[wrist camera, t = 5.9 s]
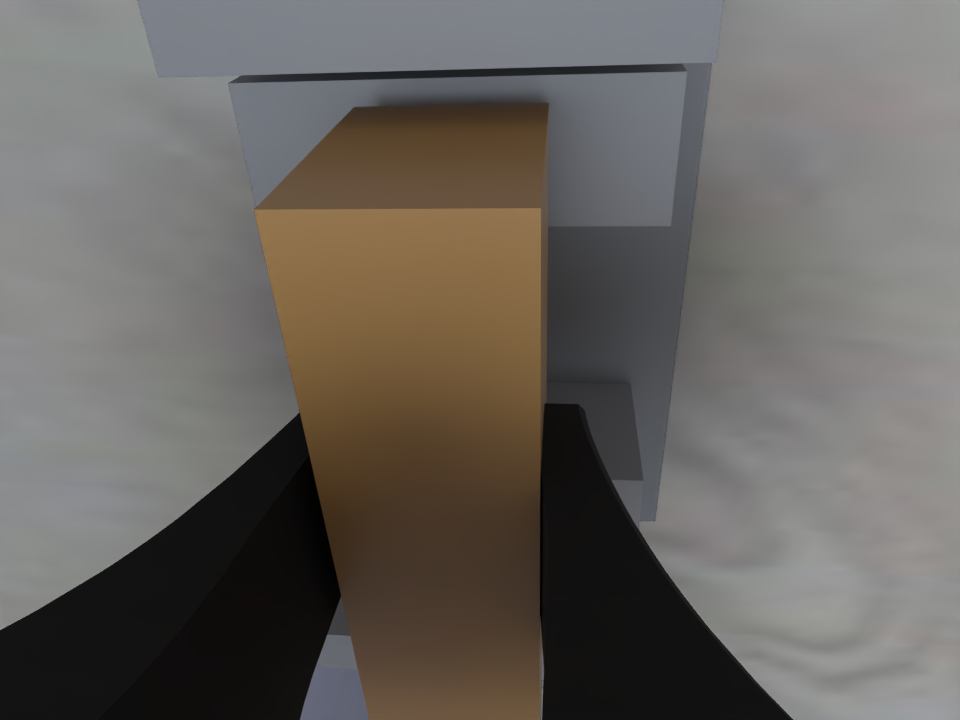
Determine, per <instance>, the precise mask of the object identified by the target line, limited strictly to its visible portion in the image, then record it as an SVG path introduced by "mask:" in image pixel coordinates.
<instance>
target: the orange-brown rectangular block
mask: <svg viewBox="0 0 960 720" xmlns="http://www.w3.org/2000/svg"><path fill="white" fill-rule="evenodd" d="M548 162H549V103H515V104H466V105H418V106H369V107H353V109H352V110H351V111H350V112H349V113H348V114H347V115H346V116H345V117H344V118H343V119H342V120H341V121H340V122H339V123H338V124H337V125H336V126H335V127H334V128H333V129H332V130H331V131H330V132H329V133H328V134H327V135H326V136H325V137H324V138H323V139H322V140H321V141H320V142H319V143H318V144H317V145H316V147H315V148H314V149H313V150H312V151H311V152H310V153H309V154H308V155H307V156H306V157H305V158H304V159H303V160H302V161H301V162H300V163H299V164H298V165H297V166H296V167H295V168H294V169H293V170H292V171H291V172H290V173H289V174H288V175H287V176H286V177H285V178H284V179H283V180H282V181H281V182H280V183H279V185H278V186H277V187H276V188H275V189H274V190H273V191H272V192H271V193H270V194H269V195H268V196H267V197H266V198H265V199H264V200H263V201H262V202H261V203H260V204H259V205H258V206H257V207H256V208H255V209H254V212H255V216H256V221H257V225H258V229H259V234H260V238H261V243H262V247H263V252H264V256H265V260H266V265H267V269H268V274H269V278H270V283H271V287H272V291H273V296H274V300H275V305H276V309H277V314H278V318H279V322H280V327H281V331H282V336H283V340H284V344H285V349H286V353H287V358H288V362H289V367H290V371H291V375H292V380H293V384H294V389H295V393H296V398H297V402H298V406H299V411H300V415H301V420H302V424H303V429H304V433H305V437H306V442H307V446H308V451H309V455H310V460H311V464H312V468H313V473H314V477H315V482H316V486H317V491H318V495H319V499H320V504H321V508H322V513H323V517H324V522H325V526H326V530H327V535H328V539H329V544H330V548H331V553H332V557H333V561H334V566H335V570H336V575H337V579H338V584H339V588H340V592H341V597H342V601H343V606H344V610H345V615H346V619H347V623H348V628H349V632H350V637H351V641H352V646H353V650H354V654H355V659H356V663H357V668H358V672H359V677H360V681H361V685H362V690H363V694H364V699H365V703H366V708H367V712H368V716H369V720H541V688H542V654H543V647H542V631H541V460H542V440H543V422H544V405H545V403H546V398H547V280H548Z"/></svg>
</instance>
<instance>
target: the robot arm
mask: <svg viewBox="0 0 960 720" xmlns="http://www.w3.org/2000/svg"><path fill="white" fill-rule="evenodd" d="M340 598H341V592H340V588H339V584H338V579H337V575H336V570H335V566H334V561H333V557H332V553H331V548H330V544H329V539H328V535H327V530H326V526H325V522H324V517H323V513H322V508H321V504H320V499H319V495H318V491H317V486H316V482H315V477H314V473H313V468H312V464H311V460H310V455H309V451H308V446H307V442H306V437H305V433H304V429H303V424H302V420H301V415H300V413H299V414H298V415H297V416H296V417H294V418H293V419H292V420H291V421H290V422H289V423H288V424H287V425H286V426H285V427H284V428H283V429H282V430H281V431H279V432H278V433H277V434H276V435H275V436H274V437H273V438H272V439H271V440H270V441H269V442H268V443H266V444H265V445H264V446H263V447H262V448H261V449H260V450H259V451H258V452H256V453H255V454H254V455H253V456H252V457H251V458H250V459H249V460H247V461H246V462H245V463H244V464H243V465H242V466H241V467H240V468H239V469H237V470H236V471H235V472H234V473H233V474H232V475H231V476H229V477H228V478H227V479H226V480H225V481H223V482H222V483H221V484H220V485H219V486H217V487H216V488H215V489H214V490H212V491H211V492H210V493H209V494H207V495H206V496H205V497H204V498H203V499H201V500H200V501H199V502H198V503H196V504H195V505H194V506H193V507H191V508H190V509H189V510H188V511H187V512H185V513H184V514H183V515H182V516H180V517H179V518H178V519H177V520H175V521H174V522H173V523H171V524H170V525H169V526H167V527H166V528H165V529H163V530H162V531H160V532H159V533H158V534H156V535H155V536H154V537H152V538H151V539H149V540H148V541H147V542H145V543H144V544H142V545H141V546H139V547H138V548H136V549H135V550H133V551H132V552H130V553H129V554H128V555H126V556H125V557H123V558H122V559H120V560H119V561H117V562H116V563H114V564H113V565H111V566H110V567H108V568H107V569H105V570H103V571H102V572H100V573H99V574H97V575H95V576H94V577H92V578H90V579H89V580H87V581H85V582H84V583H82V584H80V585H79V586H77V587H75V588H74V589H72V590H70V591H69V592H67V593H65V594H64V595H62V596H60V597H59V598H57V599H55V600H54V601H52V602H50V603H49V604H47V605H45V606H44V607H42V608H40V609H39V610H37V611H35V612H33V613H31V614H30V615H28V616H26V617H24V618H22V619H20V620H18V621H17V622H15V623H13V624H11V625H9V626H7V627H5V628H4V629H2V630H0V720H369V716H368V712H367V708H366V703H365V699H364V694H363V690H362V685H361V681H360V677H359V672H358V670H356V669H340V668H324V667H320V665H319V661H318V659H319V657H320V654H321V651H322V648H323V645H324V642H325V640H326V637H327V634H328V631H329V628H330V626H331V623H332V620H333V617H334V615H335V612H336V609H337V606H338V603H339V601H340ZM541 631H542V647H543V662H544V686H543V716H542V720H793V719H792V718H791V717H790V716H789V715H788V714H787V713H786V712H785V711H784V710H783V709H782V708H781V707H780V706H779V705H778V704H777V703H776V702H775V701H774V700H773V699H772V698H771V697H770V696H769V695H768V694H767V693H766V691H765V690H764V689H763V688H762V687H761V686H760V685H759V684H758V683H757V682H756V681H755V680H754V679H753V677H752V676H751V675H750V674H749V673H748V672H747V671H746V670H745V668H744V667H743V666H742V665H741V664H740V663H739V662H738V661H737V659H736V658H735V657H734V656H733V655H732V654H731V653H730V651H729V650H728V649H727V648H726V647H725V646H724V645H723V644H722V642H721V641H720V640H719V639H718V638H717V637H716V636H715V635H714V633H713V632H712V631H711V630H710V629H709V628H708V626H707V625H706V624H705V623H704V621H703V620H702V619H701V618H700V616H699V615H698V614H697V612H696V611H695V610H694V609H693V607H692V606H691V605H690V604H689V602H688V601H687V600H686V598H685V597H684V596H683V595H682V593H681V592H680V590H679V589H678V588H677V586H676V585H675V584H674V582H673V581H672V579H671V578H670V577H669V575H668V574H667V573H666V571H665V570H664V568H663V567H662V565H661V564H660V562H659V561H658V559H657V558H656V556H655V555H654V553H653V552H652V550H651V549H650V547H649V546H648V544H647V542H646V541H645V539H644V538H643V536H642V534H641V533H640V531H639V529H638V528H637V526H636V524H635V523H634V521H633V519H632V518H631V516H630V514H629V512H628V511H627V509H626V507H625V505H624V504H623V502H622V500H621V498H620V496H619V494H618V492H617V490H616V488H615V486H614V484H613V482H612V480H611V478H610V477H609V475H608V472H607V470H606V468H605V466H604V464H603V462H602V459H601V457H600V455H599V452H598V450H597V448H596V445H595V443H594V440H593V437H592V435H591V432H590V429H589V425H588V422H587V418H586V413H585V410H584V409H583V408H582V407H581V406H580V405H579V404H554V403H545V405H544V422H543V440H542V460H541Z"/></svg>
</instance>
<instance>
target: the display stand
mask: <svg viewBox="0 0 960 720" xmlns="http://www.w3.org/2000/svg"><path fill="white" fill-rule="evenodd" d="M137 1H138V5H139V8H140V12H141V16H142V19H143V23H144V27H145V30H146V34H147V38H148V41H149V45H150V49H151V52H152V56H153V59H154V63H155V67H156V70H157V74H158V78H160V77H197V76H234V75H242V76H240V77H238V78H236V79H235V80H233V81H231V82H230V83H228V85H229V90H230V94H231V99H232V103H233V108H234V112H235V117H236V121H237V125H238V130H239V134H240V139H241V143H242V148H243V152H244V157H245V161H246V165H247V170H248V174H249V179H250V183H251V188H252V192H253V197H254V201H255V205H256V207H257V206H258V205H259V204H260V203H261V202H262V201H263V200H264V199H265V198H266V197H267V196H268V195H269V194H270V193H271V192H272V191H273V190H274V189H275V188H276V187H277V186H278V185H279V183H280V182H281V181H282V180H283V179H284V178H285V177H286V176H287V175H288V174H289V173H290V172H291V171H292V170H293V169H294V168H295V167H296V166H297V165H298V164H299V163H300V162H301V161H302V160H303V159H304V158H305V157H306V156H307V155H308V154H309V153H310V152H311V151H312V150H313V149H314V148H315V147H316V145H317V144H318V143H319V142H320V141H321V140H322V139H323V138H324V137H325V136H326V135H327V134H328V133H329V132H330V131H331V130H332V129H333V128H334V127H335V126H336V125H337V124H338V123H339V122H340V121H341V120H342V119H343V118H344V117H345V116H346V115H347V114H348V113H349V112H350V111H351V110H352V109H353V107H369V106H418V105H466V104H515V103H549V162H548V280H547V398H546V403H554V404H579V405H580V406H581V407H582V408H583V409H584V410H585V413H586V418H587V422H588V425H589V429H590V432H591V435H592V437H593V440H594V443H595V445H596V448H597V450H598V452H599V455H600V457H601V459H602V462H603V464H604V466H605V468H606V470H607V472H608V475H609V477H610V478H611V480H612V482H613V484H614V486H615V488H616V490H617V492H618V494H619V496H620V498H621V500H622V502H623V504H624V505H625V507H626V509H627V511H628V512H629V514H630V516H631V518H632V519H633V521H634V523H635V524H636V526H637V528H638V529H639V521H655V518H656V510H657V502H658V494H659V486H660V478H661V470H662V462H663V453H664V445H665V437H666V429H667V421H668V413H669V405H670V397H671V389H672V381H673V372H674V364H675V356H676V348H677V340H678V332H679V324H680V316H681V308H682V300H683V291H684V283H685V275H686V267H687V259H688V251H689V243H690V235H691V227H692V219H693V210H694V202H695V194H696V186H697V178H698V170H699V162H700V154H701V146H702V138H703V129H704V121H705V113H706V105H707V97H708V89H709V81H710V73H711V65H712V63H715V62H716V58H717V50H718V42H719V35H720V27H721V19H722V11H723V3H724V0H137ZM318 661H319V665H320V667H324V668H340V669H356V670H358V668H357V663H356V659H355V654H354V650H353V646H352V641H351V637H350V632H349V628H348V623H347V619H346V615H345V610H344V606H343V601H342V597H341V598H340V601H339V603H338V606H337V609H336V612H335V615H334V617H333V620H332V623H331V626H330V628H329V631H328V634H327V637H326V640H325V642H324V645H323V648H322V651H321V654H320V657H319V659H318ZM542 681H543V682H544V662H543V654H542Z"/></svg>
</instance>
